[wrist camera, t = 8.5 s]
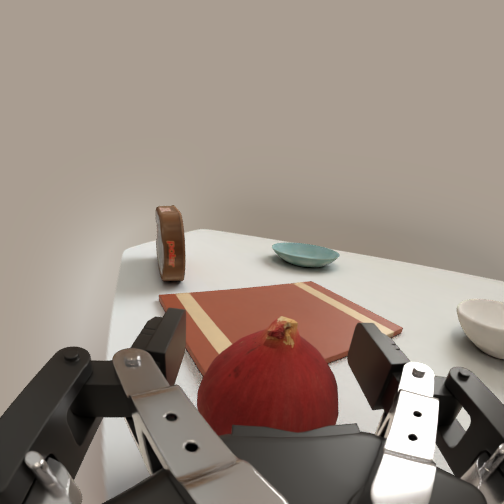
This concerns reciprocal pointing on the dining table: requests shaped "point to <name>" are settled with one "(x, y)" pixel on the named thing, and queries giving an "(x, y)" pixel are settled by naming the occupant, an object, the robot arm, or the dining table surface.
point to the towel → (270, 318)
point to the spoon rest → (483, 324)
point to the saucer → (305, 254)
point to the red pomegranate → (269, 383)
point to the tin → (170, 243)
